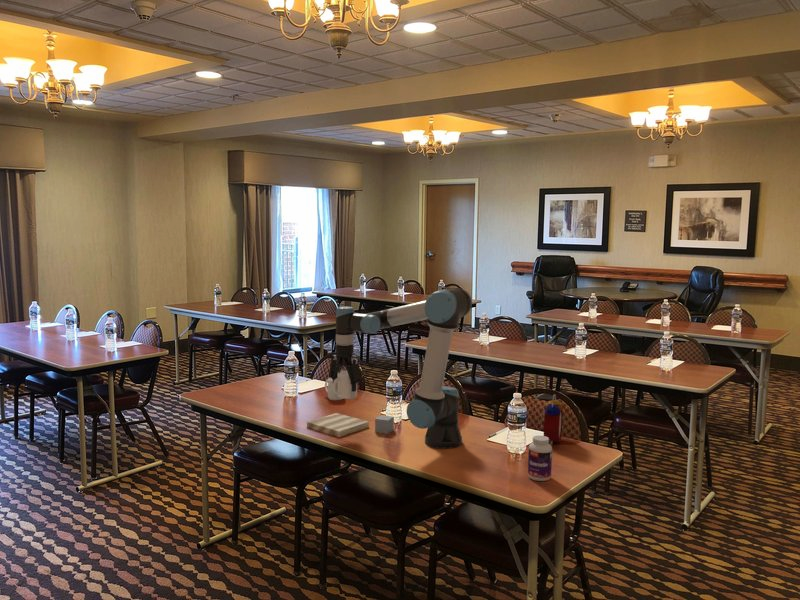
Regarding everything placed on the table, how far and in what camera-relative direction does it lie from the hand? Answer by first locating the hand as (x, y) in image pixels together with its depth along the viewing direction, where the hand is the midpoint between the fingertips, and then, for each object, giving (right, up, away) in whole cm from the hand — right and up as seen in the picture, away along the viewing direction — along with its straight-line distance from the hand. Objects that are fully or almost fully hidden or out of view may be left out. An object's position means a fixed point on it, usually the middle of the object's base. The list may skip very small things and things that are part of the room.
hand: (344, 396), depth 267 cm
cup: (-11, -10, +59) cm, 60 cm away
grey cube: (+17, -16, +5) cm, 24 cm away
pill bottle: (+72, -22, -45) cm, 88 cm away
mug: (0, 0, 0) cm, 1 cm away
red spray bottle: (+85, -18, -7) cm, 87 cm away
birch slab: (-4, -15, +10) cm, 19 cm away
